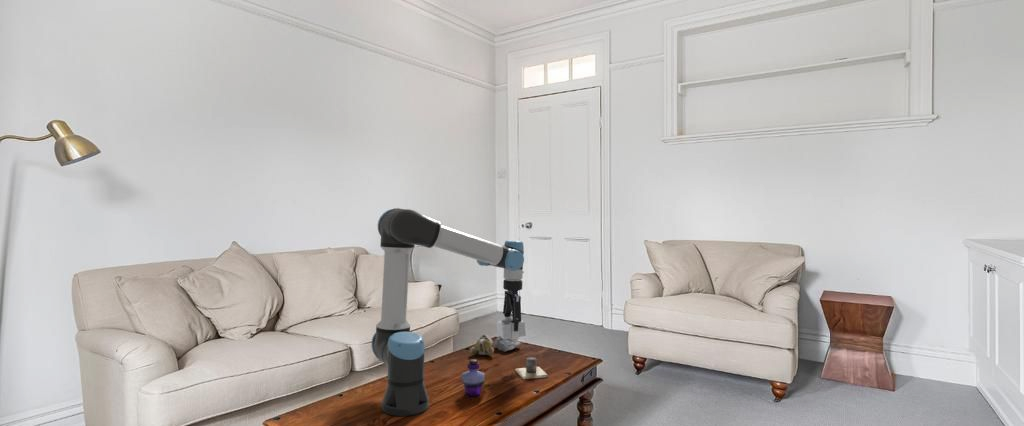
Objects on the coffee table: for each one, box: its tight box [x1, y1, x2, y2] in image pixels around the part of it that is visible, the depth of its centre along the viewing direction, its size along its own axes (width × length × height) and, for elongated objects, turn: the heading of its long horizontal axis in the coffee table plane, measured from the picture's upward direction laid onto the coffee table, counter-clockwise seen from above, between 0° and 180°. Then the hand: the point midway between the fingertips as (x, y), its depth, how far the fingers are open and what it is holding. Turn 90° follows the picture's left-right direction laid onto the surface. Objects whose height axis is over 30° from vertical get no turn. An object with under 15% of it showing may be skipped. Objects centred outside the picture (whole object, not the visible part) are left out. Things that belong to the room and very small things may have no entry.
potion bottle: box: [461, 358, 486, 398], centre depth 186 cm, size 9×9×12 cm
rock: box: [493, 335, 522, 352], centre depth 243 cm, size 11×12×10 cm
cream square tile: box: [515, 356, 549, 380], centre depth 208 cm, size 10×10×6 cm
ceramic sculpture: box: [469, 333, 495, 357], centre depth 234 cm, size 11×9×15 cm
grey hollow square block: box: [495, 318, 527, 339], centre depth 209 cm, size 9×9×6 cm
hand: (511, 336), depth 209 cm, fingers closed on grey hollow square block, 9 cm apart
